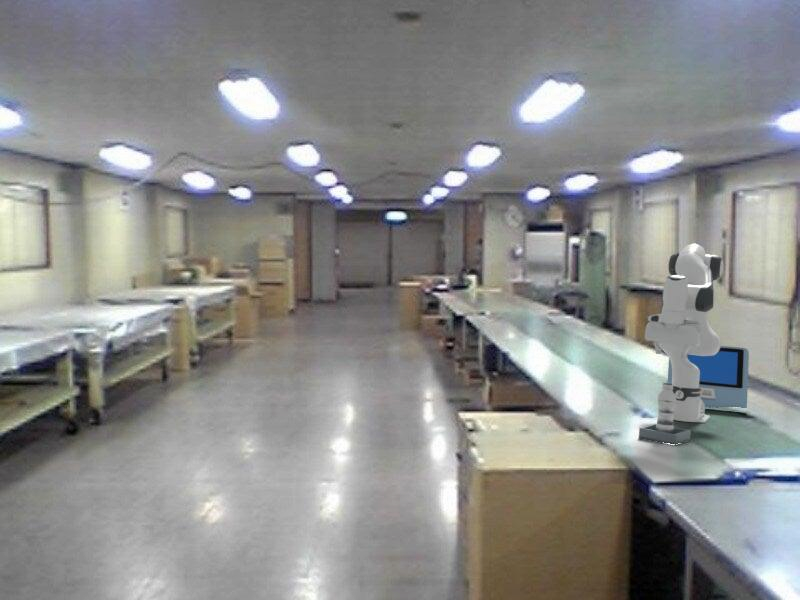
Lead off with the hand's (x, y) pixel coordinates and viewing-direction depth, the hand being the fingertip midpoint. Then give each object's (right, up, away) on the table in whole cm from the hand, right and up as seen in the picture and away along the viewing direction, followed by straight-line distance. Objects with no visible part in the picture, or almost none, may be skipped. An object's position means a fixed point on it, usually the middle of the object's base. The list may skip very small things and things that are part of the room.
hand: (670, 355), depth 296 cm
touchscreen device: (+43, -30, +80) cm, 96 cm away
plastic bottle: (-2, -31, +2) cm, 31 cm away
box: (-2, -32, +2) cm, 32 cm away
